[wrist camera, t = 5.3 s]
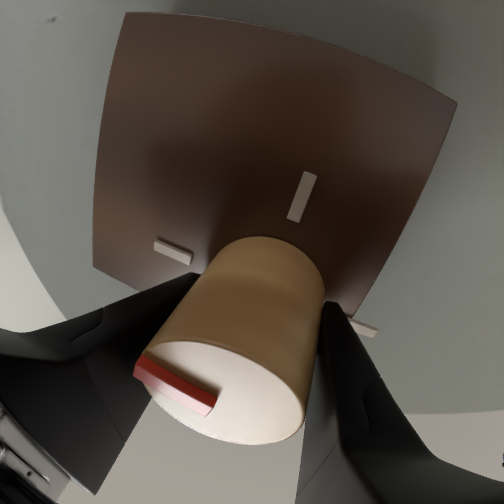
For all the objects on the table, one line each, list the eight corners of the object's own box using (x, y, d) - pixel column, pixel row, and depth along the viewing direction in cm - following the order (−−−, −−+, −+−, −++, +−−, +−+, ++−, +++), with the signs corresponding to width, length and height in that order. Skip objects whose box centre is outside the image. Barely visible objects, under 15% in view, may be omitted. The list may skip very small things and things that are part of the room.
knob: (348, 275, 9) (342, 413, 5) (288, 350, 11) (253, 467, 7) (235, 212, 9) (145, 313, 5) (195, 300, 11) (124, 402, 7)
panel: (329, 354, 14) (324, 398, 11) (123, 266, 15) (91, 295, 12) (456, 116, 8) (489, 122, 6) (164, 23, 9) (122, 11, 7)
